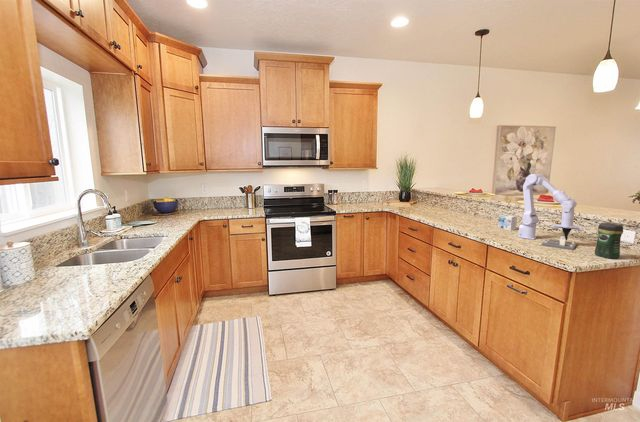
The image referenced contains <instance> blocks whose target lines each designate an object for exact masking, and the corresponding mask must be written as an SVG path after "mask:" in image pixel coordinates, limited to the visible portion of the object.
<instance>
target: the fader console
mask: <svg viewBox="0 0 640 422" xmlns="http://www.w3.org/2000/svg"><path fill="white" fill-rule="evenodd" d="M577 245H578V243H577V242H575V241H574V242H573V241H568V240H566V243H565V246H564V245H560V239H554V238H553V239H552V238H547V239H545V240H544V241H543V242H542V243H541V246H544V247H550V248H555V249H556V248H557V249H562V250H568V251H569V250H570V251H574V249H575V248H576V246H577Z"/></svg>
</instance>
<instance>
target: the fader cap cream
mask: <svg viewBox="0 0 640 422" xmlns="http://www.w3.org/2000/svg"><path fill="white" fill-rule="evenodd" d="M559 240H560V245H564V246H565V243H566V241H567V240H566V239H560V238H559Z"/></svg>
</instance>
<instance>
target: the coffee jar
mask: <svg viewBox="0 0 640 422" xmlns="http://www.w3.org/2000/svg"><path fill="white" fill-rule="evenodd" d="M597 231H598V232H597V240H596V246H595V250H594V255H595V256H598V257H601V258H606V259H612V260H615V259H619V258H620V256H621V238H622V235H623V233H624V226H623V225H621V224H616V223H611V222H610V223H609V222H600V223H599V224H598V228H597Z"/></svg>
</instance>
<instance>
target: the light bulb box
mask: <svg viewBox="0 0 640 422" xmlns="http://www.w3.org/2000/svg"><path fill="white" fill-rule="evenodd" d="M517 221H518V216H515V215H509V214H499V215H498V225H497V229H501V228H502V230H505V229H507V230H506V231H510V230H511V231H515V229H516V230H517V224H518V223H517Z"/></svg>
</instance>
